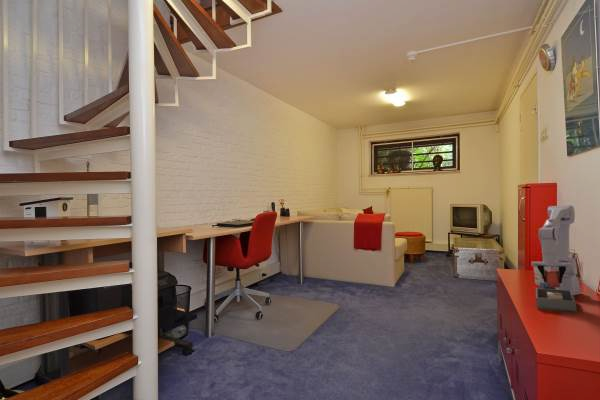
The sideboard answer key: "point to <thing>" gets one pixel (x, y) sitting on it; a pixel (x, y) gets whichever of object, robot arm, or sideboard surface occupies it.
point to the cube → (554, 295)
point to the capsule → (552, 278)
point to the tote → (555, 300)
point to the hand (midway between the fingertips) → (552, 282)
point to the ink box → (540, 277)
